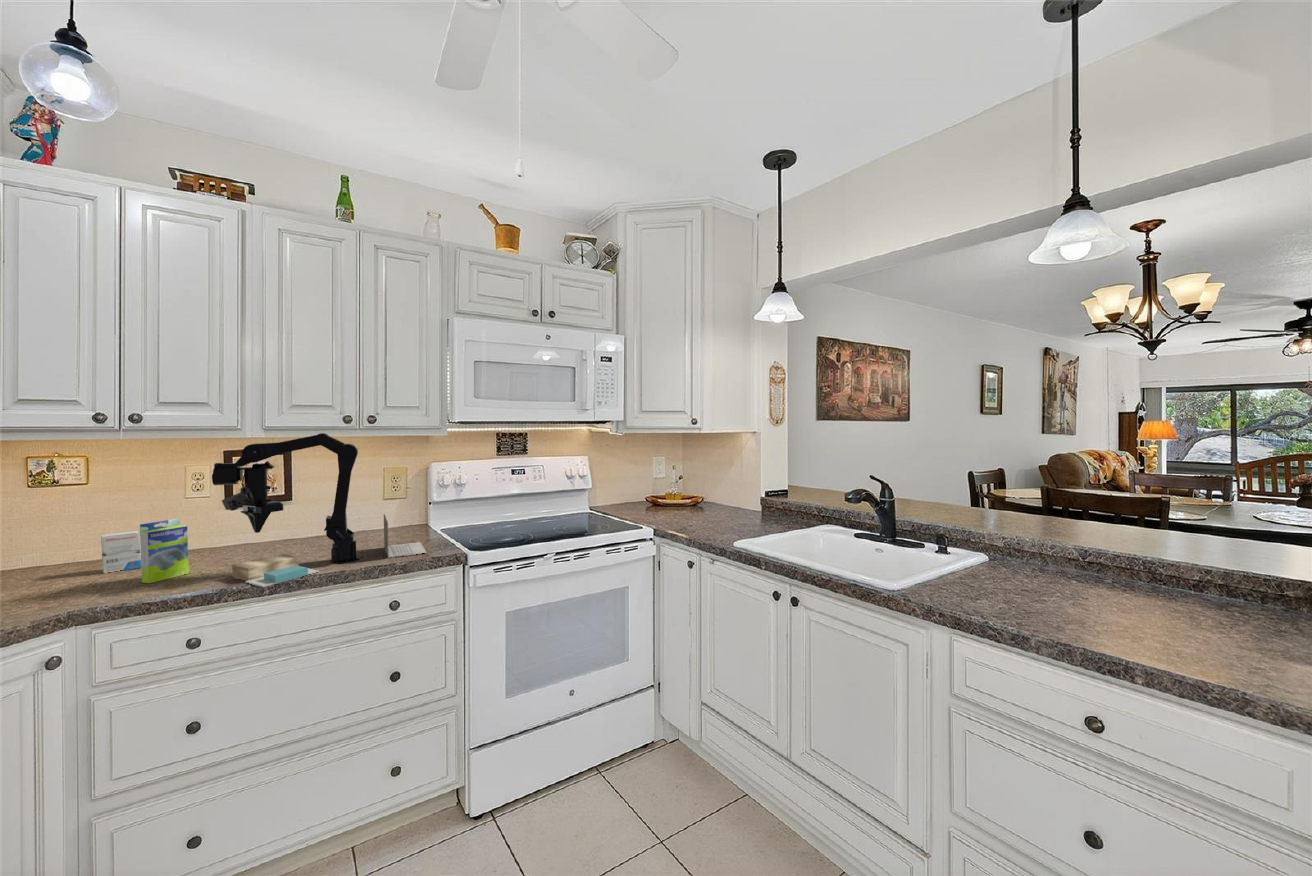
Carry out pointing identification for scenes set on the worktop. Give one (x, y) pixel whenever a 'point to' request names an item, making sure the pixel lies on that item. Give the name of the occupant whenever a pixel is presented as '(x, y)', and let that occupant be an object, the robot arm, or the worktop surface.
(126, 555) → the ink box
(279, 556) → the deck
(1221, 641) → the worktop surface
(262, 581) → the mat
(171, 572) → the box
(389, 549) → the laptop
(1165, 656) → the worktop surface
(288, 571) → the teal rectangular block
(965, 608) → the worktop surface
